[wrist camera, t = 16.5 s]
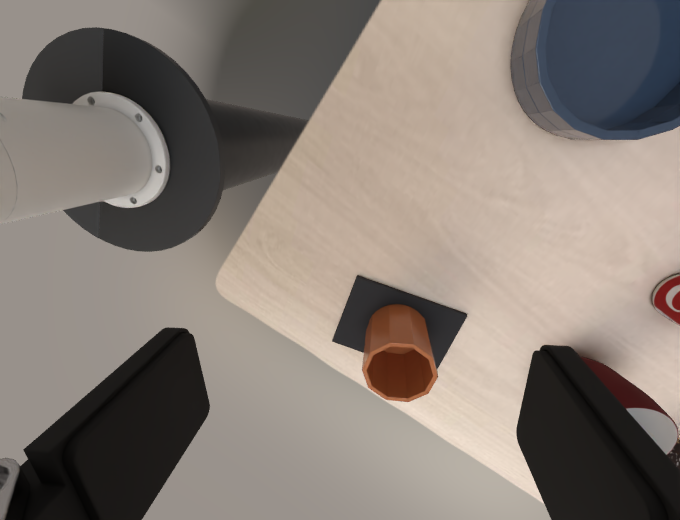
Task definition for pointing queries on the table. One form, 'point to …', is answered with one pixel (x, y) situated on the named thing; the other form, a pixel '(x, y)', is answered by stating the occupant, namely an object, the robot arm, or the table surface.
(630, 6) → the blue round bowl
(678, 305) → the soda can
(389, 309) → the terracotta pot
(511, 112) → the table surface
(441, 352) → the rubber mat
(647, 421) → the mug
